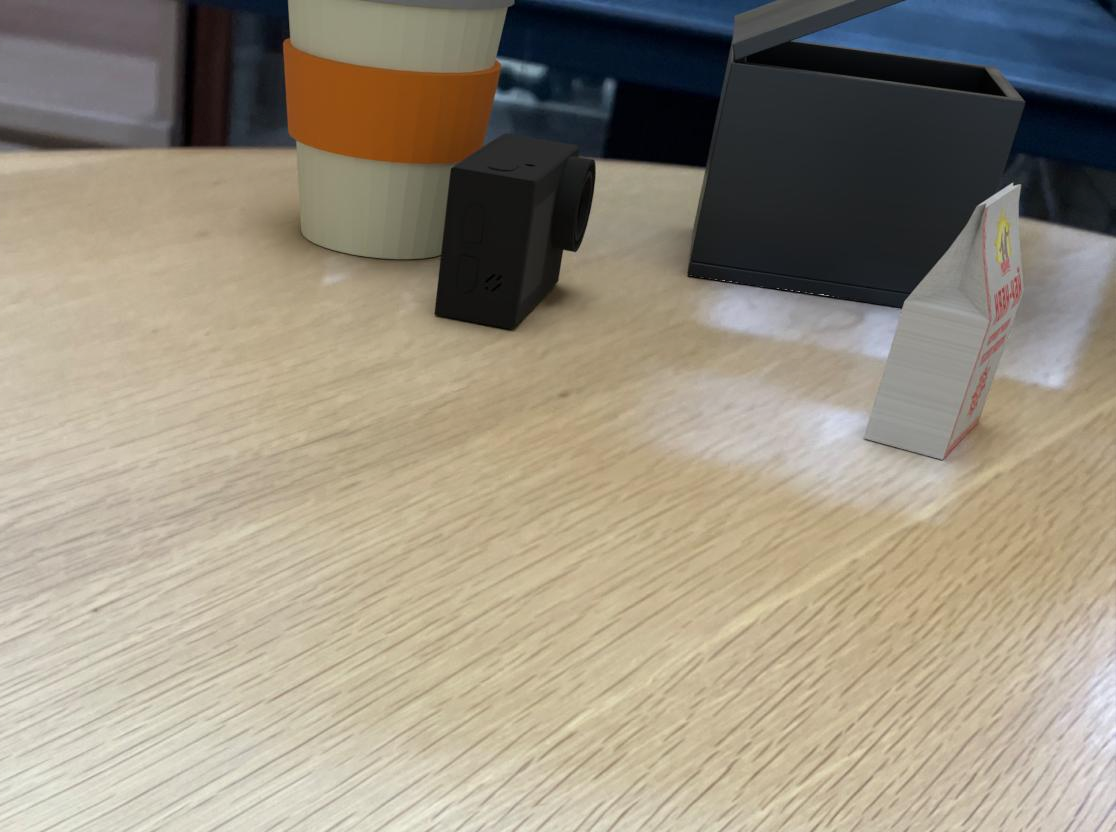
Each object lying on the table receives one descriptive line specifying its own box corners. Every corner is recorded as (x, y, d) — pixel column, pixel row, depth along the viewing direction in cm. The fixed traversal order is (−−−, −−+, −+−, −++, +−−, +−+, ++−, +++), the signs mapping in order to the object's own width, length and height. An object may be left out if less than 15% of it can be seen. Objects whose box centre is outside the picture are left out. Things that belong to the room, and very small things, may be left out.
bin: (937, 262, 97) (996, 66, 90) (957, 316, 87) (1025, 101, 80) (693, 227, 98) (733, 32, 91) (686, 276, 89) (731, 62, 82)
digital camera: (535, 336, 77) (559, 183, 73) (433, 316, 78) (450, 164, 74) (578, 287, 85) (602, 146, 80) (485, 270, 86) (503, 130, 81)
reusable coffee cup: (423, 208, 96) (452, -82, 86) (522, 264, 87) (566, -50, 78) (237, 211, 91) (247, -95, 81) (323, 271, 83) (345, -63, 73)
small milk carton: (863, 438, 69) (935, 197, 63) (903, 402, 74) (974, 174, 68) (942, 459, 68) (1024, 215, 62) (978, 421, 73) (1058, 191, 66)
